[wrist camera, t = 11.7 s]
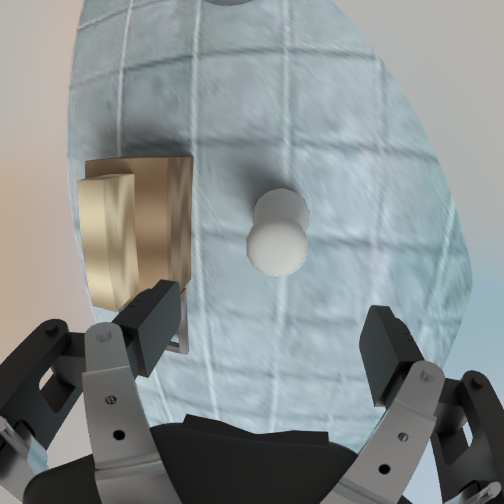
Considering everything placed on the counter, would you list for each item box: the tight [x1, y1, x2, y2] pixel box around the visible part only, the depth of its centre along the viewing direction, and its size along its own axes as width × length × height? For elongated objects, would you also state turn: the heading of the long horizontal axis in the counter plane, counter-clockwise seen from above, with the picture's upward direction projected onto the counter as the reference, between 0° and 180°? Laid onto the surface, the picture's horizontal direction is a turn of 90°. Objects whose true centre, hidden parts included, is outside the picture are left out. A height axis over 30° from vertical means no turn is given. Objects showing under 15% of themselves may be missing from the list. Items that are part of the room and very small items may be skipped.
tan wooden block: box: [78, 158, 189, 355], centre depth 27 cm, size 25×10×10 cm, turn 176°
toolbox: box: [98, 156, 193, 293], centre depth 29 cm, size 15×10×6 cm, turn 176°
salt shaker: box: [247, 188, 310, 277], centre depth 24 cm, size 6×6×13 cm
